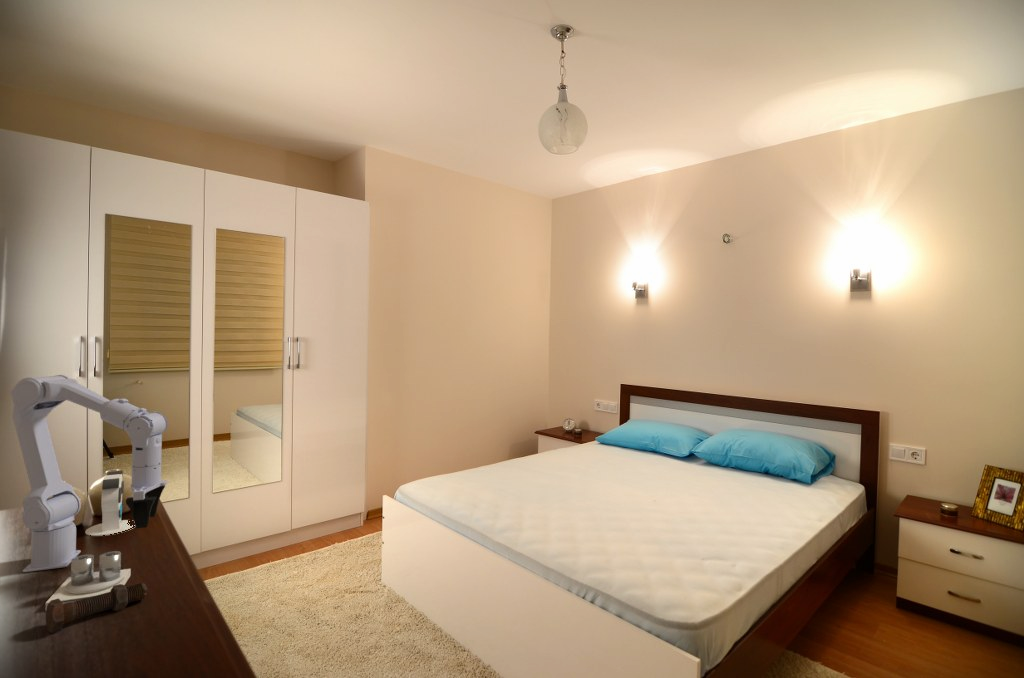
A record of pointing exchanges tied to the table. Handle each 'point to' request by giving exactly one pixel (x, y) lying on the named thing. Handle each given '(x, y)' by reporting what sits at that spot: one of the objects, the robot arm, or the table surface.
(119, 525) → the white phone stand
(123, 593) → the bolt
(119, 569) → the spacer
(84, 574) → the spacer
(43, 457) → the robot arm
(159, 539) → the table surface
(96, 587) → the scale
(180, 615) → the table surface
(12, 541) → the table surface
